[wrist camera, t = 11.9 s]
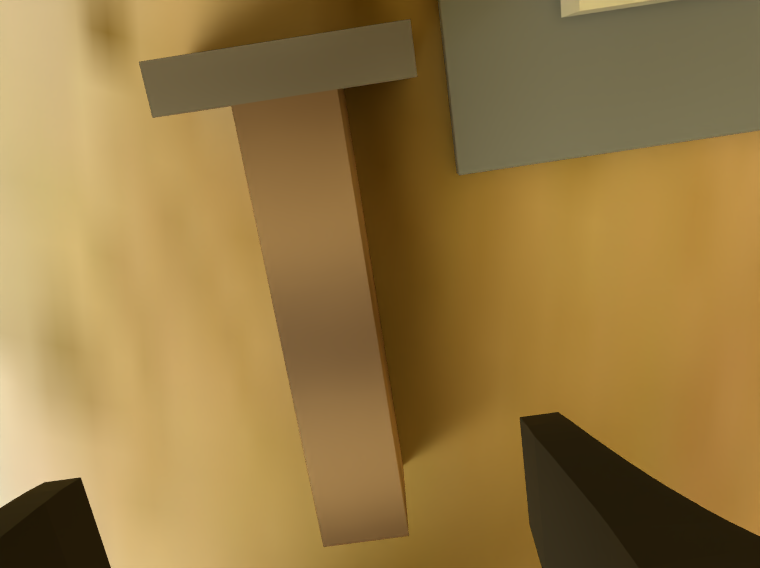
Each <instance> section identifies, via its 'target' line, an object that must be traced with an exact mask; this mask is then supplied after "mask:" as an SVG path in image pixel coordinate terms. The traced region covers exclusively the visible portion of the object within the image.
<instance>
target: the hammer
mask: <svg viewBox="0 0 760 568" xmlns="http://www.w3.org/2000/svg"><path fill="white" fill-rule="evenodd" d="M139 65H140V69H141V73H142V77H143V81H144V85H145V89H146V93H147V97H148V101H149V105H150V109H151V113H152V117H153V118H155V117H161V116H168V115H175V114H182V113H188V112H195V111H201V110H208V109H214V108H221V107H227V106H231V107H232V111H233V116H234V121H235V126H236V131H237V135H238V140H239V145H240V150H241V154H242V159H243V164H244V169H245V174H246V178H247V183H248V188H249V193H250V197H251V202H252V207H253V212H254V217H255V221H256V226H257V231H258V236H259V241H260V245H261V250H262V255H263V260H264V264H265V269H266V274H267V279H268V284H269V288H270V293H271V298H272V303H273V307H274V312H275V317H276V322H277V327H278V331H279V336H280V341H281V346H282V350H283V355H284V360H285V365H286V370H287V374H288V379H289V384H290V389H291V393H292V398H293V403H294V408H295V413H296V417H297V422H298V427H299V432H300V436H301V441H302V446H303V451H304V456H305V460H306V465H307V470H308V475H309V479H310V484H311V489H312V494H313V499H314V503H315V508H316V513H317V518H318V522H319V527H320V532H321V537H322V542H323V546H324V547H327V546H334V545H342V544H350V543H357V542H365V541H373V540H380V539H388V538H395V537H403V536H409V532H408V520H407V508H406V495H405V483H404V471H403V462H402V455H401V449H400V443H399V436H398V430H397V424H396V417H395V411H394V405H393V398H392V392H391V386H390V379H389V373H388V366H387V360H386V354H385V347H384V341H383V335H382V328H381V322H380V316H379V309H378V303H377V297H376V290H375V284H374V277H373V271H372V265H371V258H370V252H369V246H368V239H367V233H366V227H365V220H364V214H363V208H362V201H361V195H360V188H359V182H358V176H357V169H356V163H355V157H354V150H353V144H352V138H351V131H350V125H349V119H348V112H347V106H346V99H345V93H344V88H350V87H357V86H363V85H370V84H376V83H382V82H389V81H395V80H402V79H408V78H414V77H417V69H416V61H415V53H414V45H413V37H412V29H411V21H410V19H407V20H401V21H395V22H388V23H382V24H376V25H369V26H363V27H357V28H350V29H344V30H338V31H331V32H325V33H319V34H312V35H306V36H300V37H293V38H287V39H281V40H274V41H268V42H262V43H255V44H249V45H243V46H236V47H230V48H224V49H217V50H211V51H204V52H198V53H192V54H185V55H179V56H173V57H166V58H160V59H154V60H147V61H141V62H139Z"/></svg>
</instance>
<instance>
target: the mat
mask: <svg viewBox="0 0 760 568" xmlns="http://www.w3.org/2000/svg"><path fill="white" fill-rule="evenodd" d="M438 8H439V17H440V26H441V35H442V44H443V53H444V62H445V71H446V80H447V89H448V98H449V107H450V116H451V125H452V134H453V143H454V152H455V161H456V170H457V174H458V175H464V174H471V173H477V172H484V171H491V170H498V169H504V168H511V167H518V166H524V165H531V164H538V163H544V162H551V161H558V160H565V159H571V158H578V157H585V156H591V155H598V154H605V153H611V152H618V151H625V150H631V149H638V148H645V147H652V146H658V145H665V144H672V143H678V142H685V141H692V140H698V139H705V138H712V137H719V136H725V135H732V134H739V133H745V132H752V131H759V130H760V0H675V1H668V2H662V3H655V4H649V5H642V6H635V7H629V8H622V9H615V10H609V11H602V12H596V13H589V14H582V15H576V16H569V17H562V18H561V1H560V0H438Z"/></svg>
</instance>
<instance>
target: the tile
mask: <svg viewBox="0 0 760 568" xmlns="http://www.w3.org/2000/svg"><path fill="white" fill-rule="evenodd" d="M560 1H561V18H562V17H569V16H576V15H582V14H589V13H596V12H602V11H609V10H615V9H622V8H629V7H635V6H642V5H649V4H655V3H662V2H668V1H675V0H560Z"/></svg>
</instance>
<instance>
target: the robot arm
mask: <svg viewBox="0 0 760 568" xmlns="http://www.w3.org/2000/svg"><path fill="white" fill-rule="evenodd" d="M520 425H521V436H522V447H523V458H524V469H525V480H526V491H527V501H528V512H529V523H530V528H531V531H532V535H533V538H534V542H535V545H536V549H537V552H538V556H539V559H540V562H541V566H542V568H760V536H758V535H756V534H754V533H751V532H749V531H747V530H745V529H743V528H741V527H739V526H737V525H735V524H733V523H731V522H729V521H727V520H725V519H723V518H721V517H720V516H718V515H716V514H714V513H712V512H710V511H708V510H706V509H705V508H703V507H701V506H699V505H698V504H696V503H694V502H693V501H691V500H689V499H687V498H686V497H684V496H682V495H681V494H679V493H677V492H675V491H674V490H672V489H670V488H668V487H667V486H665V485H664V484H662V483H660V482H659V481H657V480H656V479H654V478H652V477H651V476H649V475H648V474H646V473H645V472H643V471H642V470H640V469H638V468H637V467H635V466H634V465H632V464H631V463H629V462H628V461H626V460H625V459H623V458H622V457H620V456H619V455H618V454H616V453H615V452H613V451H612V450H610V449H609V448H607V447H606V446H605V445H603V444H602V443H600V442H599V441H598V440H596V439H595V438H593V437H592V436H591V435H589V434H588V433H587V432H585V431H584V430H582V429H581V428H580V427H578V426H577V425H576V424H574V423H573V422H571V421H570V420H569V419H567V418H566V417H564V416H563V415H561V414H560V413H558V412H555V413H548V414H541V415H534V416H526V417H520ZM0 568H111V567H110V564H109V561H108V558H107V555H106V552H105V549H104V546H103V543H102V540H101V537H100V534H99V531H98V528H97V525H96V522H95V519H94V516H93V513H92V510H91V507H90V504H89V501H88V498H87V495H86V492H85V489H84V486H83V483H82V480H81V478H73V479H66V480H59V481H51V482H45V483H43V484H41V485H39V486H37V487H35V488H33V489H31V490H29V491H27V492H26V493H24V494H22V495H21V496H19V497H17V498H16V499H14V500H12V501H11V502H9V503H8V504H6V505H4V506H3V507H1V508H0Z"/></svg>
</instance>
